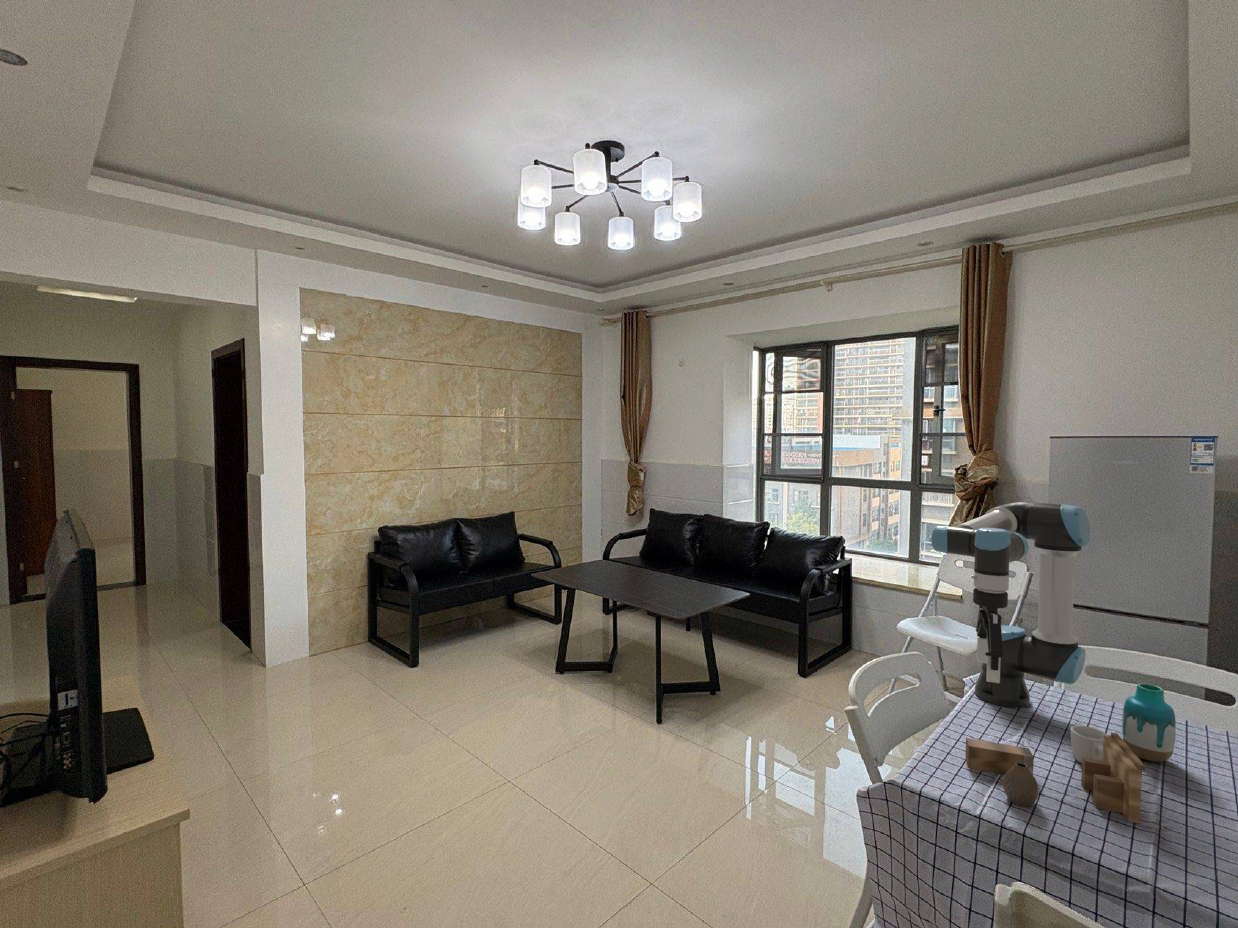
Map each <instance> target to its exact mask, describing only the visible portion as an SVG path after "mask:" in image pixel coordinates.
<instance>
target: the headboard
mask: <svg viewBox="0 0 1238 928" xmlns="http://www.w3.org/2000/svg"><path fill="white" fill-rule="evenodd" d="M1140 759H1141V758H1139V757H1137V756H1136V755H1135V754H1134V752H1133V751H1132V750H1131V749H1130V748H1129V747H1128V745H1127V744H1126V743H1125V742H1124V741H1123V737H1121V736H1120V735H1119V733H1117V732H1112V731H1111V732H1110V736H1109V735H1108V736H1105V735H1104V742H1103V760H1097V759H1091V758H1085V757H1082V763H1081V783H1080V785H1081V787H1082V789H1083V790H1085V791H1091V792H1092V804H1093V806H1094V808H1095V809H1098V810H1102V811H1103V810H1104V811H1107V812H1108V811H1109V812H1113V813H1118V814H1123V816H1124V818H1125V819H1126V820H1127V822H1130V823H1135V824H1140V823H1141V822H1140V821H1141V805H1142V804H1141V802H1142V783H1143V782H1142V781H1143V780H1142V777H1143V771H1144V772H1146V771H1147V769H1146V768H1147V767H1146V766H1147V765H1145V764H1144V763H1143V762H1142V760H1140Z"/></svg>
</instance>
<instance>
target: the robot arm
mask: <svg viewBox="0 0 1238 928" xmlns="http://www.w3.org/2000/svg"><path fill="white" fill-rule="evenodd" d="M1090 537H1091V529H1090V521H1089V517H1088V516H1087V513H1086V511H1085V510H1084V509H1083V508H1082V507H1080V506H1076V505H1073V504H1072V505H1070V504H1066V503H1065V504H1064V503H1063V504H1062V503H1048V502H1031V501H1018V502H1009V503H1005V504H1001V505H998V506H995V507H992V508H990V509H988V510H987V511H986V512H985V513H984V515H982V516H979V517H975V518H973V519H971V520H968V521H966V522H964V523H961V524H957V525H955V526H949V525H937V526H935V528H933V530H932V532H931V538H930V539H931V546H932V548H933V550H934V551H936V552H938V553H939V552H941V553H945V555H946V554H951V555H957V556H966V557H972V558H974V561H973V562H974V568H973V572H974V574H971V579H972V580H973V587H975V588H974V589H973V591H972V602H973V603H974V604H975V605H977V606H978V613H977V622H976V627H975V628H976V629H975V631H976V636H977V639H976V641H977V642H976V643H977V644H976V663H979V664H981V672H980V674H979V676H978V678H977V680H976V682H975V685H974V694H975V695H976V697H978V698H979V699H981V700H983V701H984V702H988V703H989V704H990V703H991V704H994V705H996V706H1001V707H1007V708H1017V709H1019V708H1026V707H1028V706H1029V705H1030V702H1031V701H1030V700H1031V696H1030V693H1029V689H1028V686H1027V683H1026V681H1025V674H1028V675H1032V676H1035V677H1039V678H1043V679H1045V680H1049V681H1053V682H1055V683H1061V684H1065V685H1073V684H1075V683H1076V682H1077V681H1078V680H1079V678H1080V676H1081V675H1082V672H1083V669H1084V666H1085V662H1086V654H1087V653H1086V650H1085V648H1083V647H1082V646H1079V639H1078V637H1076V636H1075V635H1074V634H1073V616H1074V615H1073V614H1074V611H1073V610H1074V590H1075V565H1076V564H1075V561H1076V556H1077V554H1079V553H1080V552H1082V547H1086V546H1088V544H1089V542H1090ZM1027 540H1033V541H1034V543H1033V544H1034V548H1035V549H1036V550H1037V551H1038V552H1039V571H1038V574H1039V577H1038V578H1039V579H1038V581H1039V582H1038V602H1037V603H1038V604H1037V605H1038V606H1037V607H1038V609H1037V611H1038V612H1037V628H1036V629H1034V630H1033V631H1031V635H1028V634H1027V631H1026V630H1025V628H1023V627H1019V626H1014V625H1003V624H1002V615H1001V614H999V612H998V610H999V609H1005V608H1007V607H1008V603H1009V593H1008V592H1007V591H1009V586H1010V585H1009V581H1010V580H1009V579H1010V572H1009V571H1010V563H1013V562H1017V561H1020V560H1021V559H1022V558H1024V557H1025V556H1026V555H1027V554H1028V552H1029V543H1028V541H1027Z"/></svg>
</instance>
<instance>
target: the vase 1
mask: <svg viewBox="0 0 1238 928" xmlns="http://www.w3.org/2000/svg"><path fill="white" fill-rule="evenodd" d="M1002 786H1003V790H1004V791H1003V792H1004V793H1005V794H1004V795H1006V797H1007V798H1008V799H1009V801H1010V802H1011V803H1013V804H1015V805H1017V804H1018V805H1017V806H1020V807H1029V806H1031V805H1034V804H1035V803H1036V802H1037V799H1038V797H1039V789H1040V788H1039V784H1038V781H1037V779H1036V777H1035V775H1034V774H1033V775H1032V773H1031V772H1030V771H1029V769H1028V766H1027V765H1026V764H1024V763H1020V762H1016V763H1015V764H1014V766H1013V767H1011V768H1010V769H1009V770H1007V772H1006V773H1005V775H1003V778H1002Z"/></svg>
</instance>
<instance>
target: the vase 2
mask: <svg viewBox="0 0 1238 928" xmlns="http://www.w3.org/2000/svg"><path fill="white" fill-rule="evenodd" d="M1164 691H1165V690H1164V689H1163V687H1161V686H1158V685H1155V684H1151V683H1146V682H1145V683H1144V682H1143V683H1141V682H1139V683H1137V684H1136V689H1135V694H1134V695H1132V696H1131V695H1130V696H1129V697H1127V698H1126V699H1125V701H1124V705H1123V709H1122V721H1121V731H1122V734H1121V735H1122V740H1123V741H1124V742H1125V743H1126V744H1127V745H1128V747H1129V748H1130V749H1131V750H1132V751H1133V752H1134V754H1135V755H1136V756H1137V757H1138V758H1139V759H1143V760H1145V761H1149V762H1154V763H1155V762H1157V763H1160V762H1165V761H1168V760H1169V759H1170V758H1171V757H1172V756H1173V753H1174V749H1175V744H1176V733H1177V732H1176V729H1177V728H1176V727H1177V722H1176V714H1175V711H1174V708H1173V707H1172V706H1171V705H1169V704H1168V703H1166V701H1165V692H1164Z"/></svg>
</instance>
